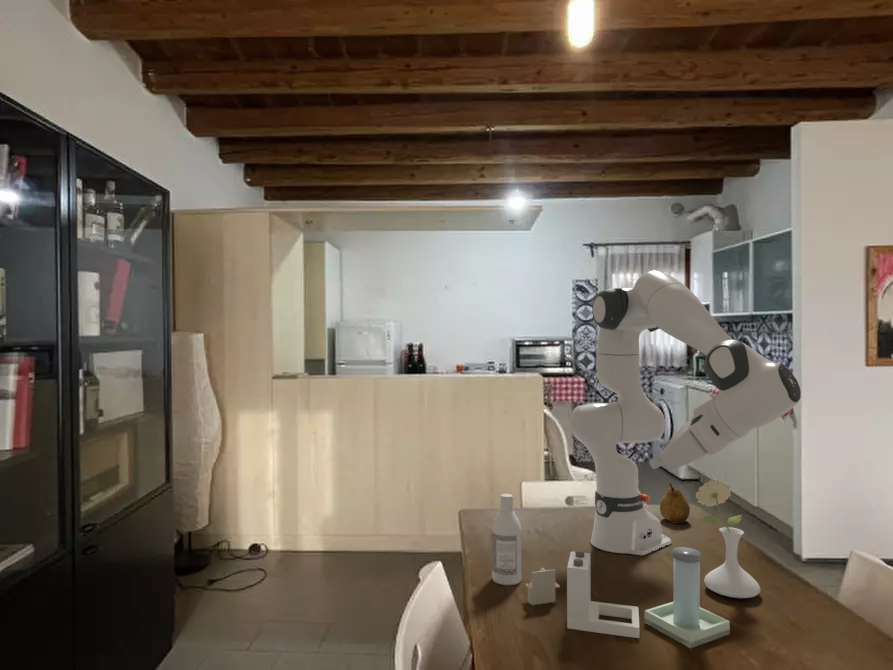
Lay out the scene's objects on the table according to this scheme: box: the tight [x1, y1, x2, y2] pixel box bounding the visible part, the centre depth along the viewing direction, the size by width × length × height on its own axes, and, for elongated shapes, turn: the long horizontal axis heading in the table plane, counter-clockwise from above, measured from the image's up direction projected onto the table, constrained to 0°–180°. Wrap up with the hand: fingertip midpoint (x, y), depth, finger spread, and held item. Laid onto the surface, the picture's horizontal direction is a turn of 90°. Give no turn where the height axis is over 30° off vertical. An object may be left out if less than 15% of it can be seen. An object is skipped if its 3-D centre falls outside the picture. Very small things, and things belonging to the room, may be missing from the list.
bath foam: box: [491, 493, 523, 586], centre depth 139 cm, size 7×7×20 cm
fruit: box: [659, 483, 691, 524], centre depth 183 cm, size 9×9×12 cm
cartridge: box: [671, 546, 702, 629], centre depth 116 cm, size 5×5×14 cm
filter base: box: [566, 549, 640, 639], centre depth 118 cm, size 14×9×13 cm, turn 73°
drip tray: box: [644, 601, 731, 649], centre depth 116 cm, size 11×11×2 cm
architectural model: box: [525, 567, 561, 606], centre depth 128 cm, size 3×7×7 cm, turn 106°
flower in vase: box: [695, 479, 761, 599], centre depth 132 cm, size 13×11×25 cm
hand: (658, 456), depth 122 cm, fingers open, 8 cm apart
